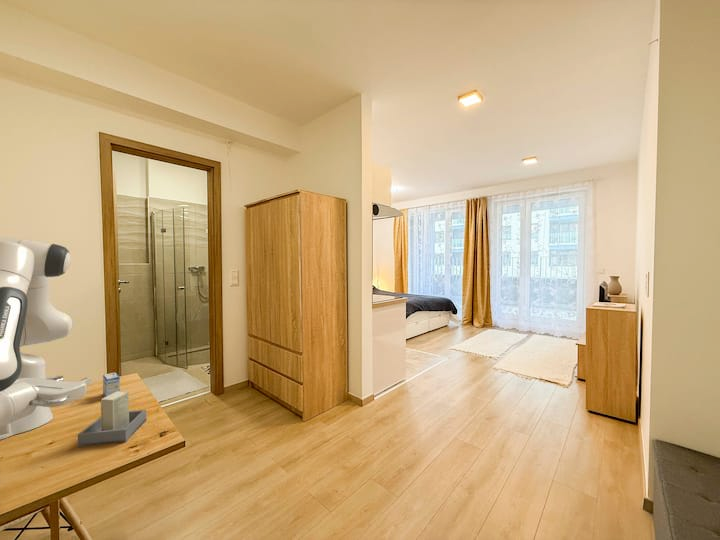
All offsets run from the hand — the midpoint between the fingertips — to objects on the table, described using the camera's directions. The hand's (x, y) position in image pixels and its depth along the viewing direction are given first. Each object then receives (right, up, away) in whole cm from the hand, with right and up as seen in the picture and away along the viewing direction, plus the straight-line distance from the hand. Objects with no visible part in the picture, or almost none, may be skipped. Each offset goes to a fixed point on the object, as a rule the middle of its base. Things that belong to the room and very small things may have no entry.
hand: (75, 379), depth 86 cm
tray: (+1, -23, +12) cm, 26 cm away
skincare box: (+2, -22, +12) cm, 25 cm away
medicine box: (-23, -22, +40) cm, 51 cm away
